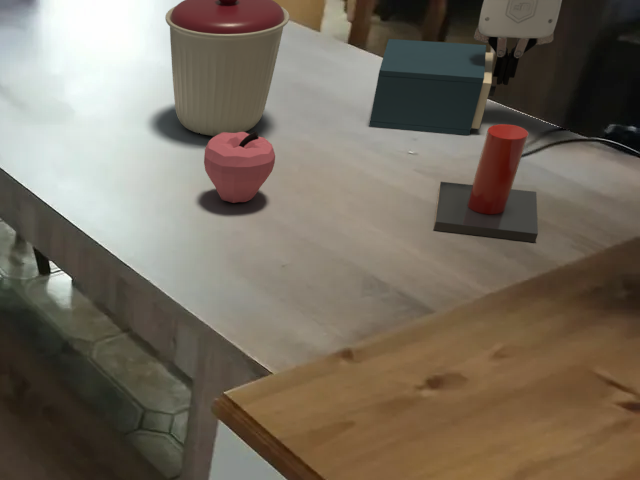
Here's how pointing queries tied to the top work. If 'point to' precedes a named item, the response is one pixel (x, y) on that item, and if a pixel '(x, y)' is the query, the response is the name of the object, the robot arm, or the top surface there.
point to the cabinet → (428, 86)
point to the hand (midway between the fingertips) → (502, 81)
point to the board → (507, 224)
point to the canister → (223, 61)
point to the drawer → (484, 91)
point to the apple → (238, 164)
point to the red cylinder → (497, 168)
